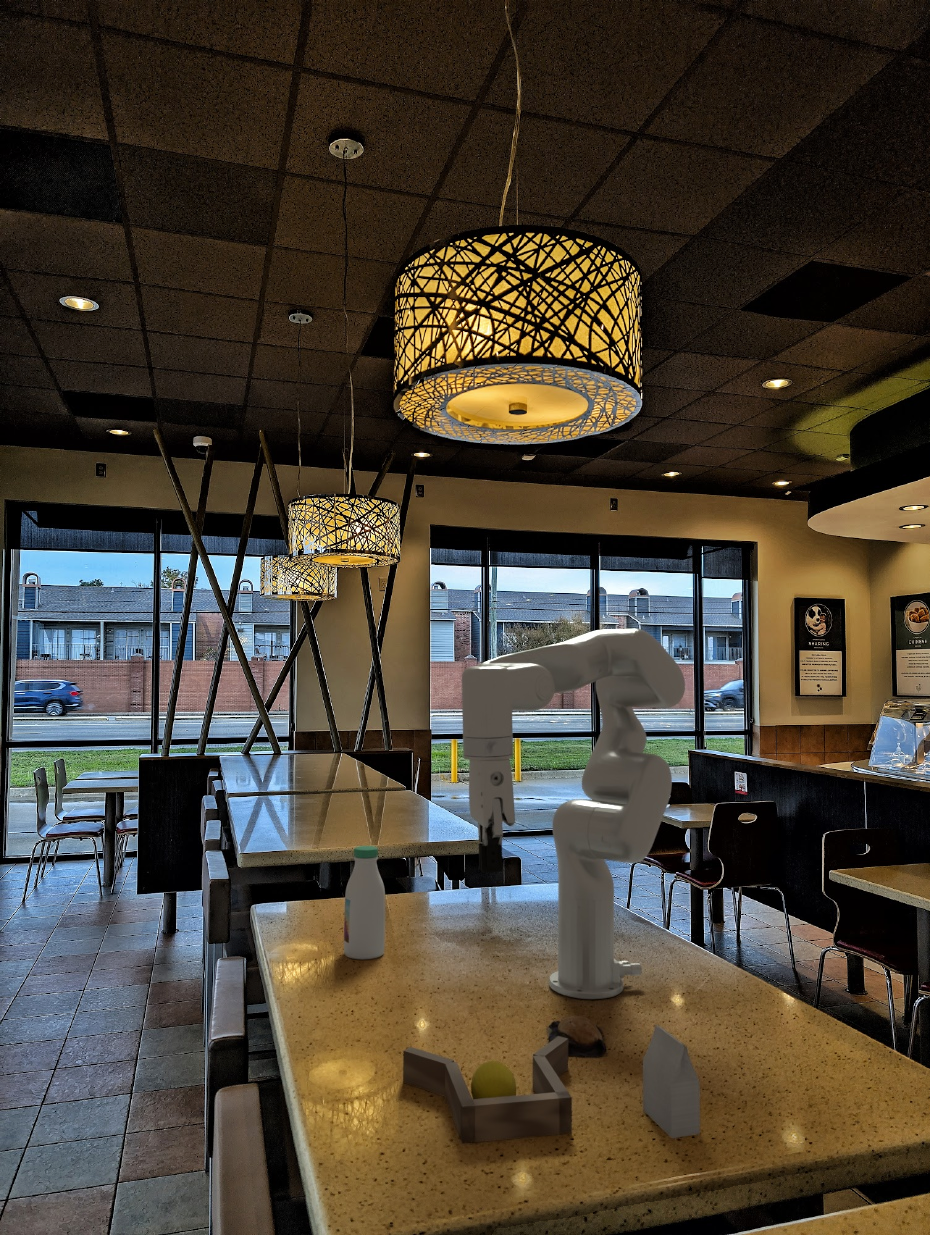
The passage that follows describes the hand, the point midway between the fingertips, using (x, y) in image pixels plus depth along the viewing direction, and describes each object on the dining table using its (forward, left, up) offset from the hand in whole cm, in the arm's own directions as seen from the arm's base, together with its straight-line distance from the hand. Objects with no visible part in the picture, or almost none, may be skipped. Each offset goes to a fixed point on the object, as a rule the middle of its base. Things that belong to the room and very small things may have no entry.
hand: (490, 870), depth 130 cm
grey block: (-16, +28, -24) cm, 40 cm away
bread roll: (-12, +4, -25) cm, 28 cm away
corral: (+3, +20, -24) cm, 32 cm away
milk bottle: (+15, -41, -24) cm, 50 cm away
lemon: (+4, +18, -21) cm, 28 cm away
